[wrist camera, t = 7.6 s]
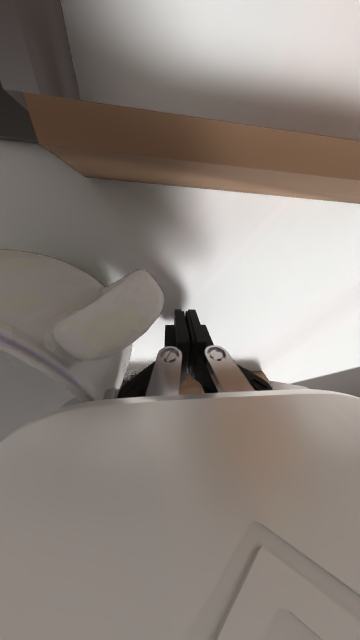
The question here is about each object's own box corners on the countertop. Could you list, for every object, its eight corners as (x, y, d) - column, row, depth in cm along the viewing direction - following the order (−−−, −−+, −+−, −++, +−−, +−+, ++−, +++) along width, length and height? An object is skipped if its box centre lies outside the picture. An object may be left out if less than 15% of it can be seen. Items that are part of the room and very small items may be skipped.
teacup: (67, 367, 15) (-21, 481, 8) (-54, 269, 9) (-779, 376, 2) (188, 333, 13) (209, 434, 6) (139, 190, 7) (-137, -253, 1)
